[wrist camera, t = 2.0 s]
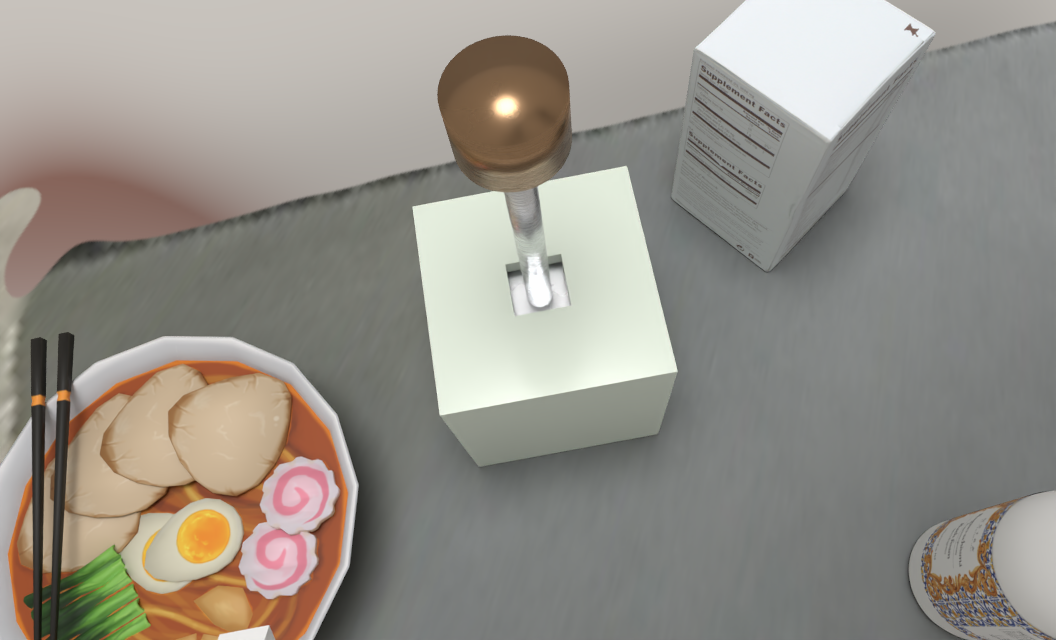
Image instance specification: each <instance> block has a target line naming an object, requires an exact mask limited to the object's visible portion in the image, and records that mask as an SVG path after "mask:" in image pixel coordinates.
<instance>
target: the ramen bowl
mask: <svg viewBox="0 0 1056 640" xmlns="http://www.w3.org/2000/svg"><path fill="white" fill-rule="evenodd" d="M73 349H74V335H73V334H71V333H69V332H67V333H61V334H59V341H58V374H57V394H55V395H54V396H53V397H52V398H50V399H49V400H48V401H47V402H44V401H45V398H46V351H47V340H45V339H43V338H41V337H39V338H35V339H31V397H32V401H33V402H32V406H31V411H32V416H31V418H30V419H29V421H28V422H27V424H26V425H25V427H24V429H23V430H22V432H21V433H20V435H19V436H18V438H17V439H16V441H15V442H14V444H13V446H12V447H11V449H10V450H9V452H8V453H7V455H6V456H5V458H4V459H3V461H2V462H1V464H0V640H218V637H219V635H220V634H224V633H230V632H235V631H240V630H246V629H251V628H256V627H262V626H267V625H269V626H270V628H271V631H272V633H273V635H274V638H275V640H314V638H315V636H316V634H317V632H318V630H319V628H320V625H321V623H322V621H323V619H324V617H325V615H326V613H327V611H328V609H329V607H330V605H331V603H332V601H333V599H334V597H335V595H336V593H337V591H338V589H339V587H340V585H341V583H342V581H343V579H344V577H345V575H346V573H347V570H348V568H349V566H350V557H351V549H352V540H353V531H354V522H355V513H356V505H357V496H358V487H359V484H358V481H357V478H356V474H355V471H354V468H353V465H352V461H351V458H350V455H349V451H348V448H347V445H346V441H345V438H344V435H343V431H342V428H341V425H340V422H339V418H338V415H337V414H336V412H335V411H334V410H333V409H332V408H331V407H330V405H329V404H328V403H327V402H326V401H325V400H324V398H323V397H322V396H321V395H320V394H319V392H318V391H317V390H316V389H315V388H314V387H313V385H312V384H311V383H310V382H309V381H308V380H307V378H306V377H305V376H304V375H303V374H302V373H301V371H300V370H299V369H298V368H297V367H296V366H295V364H294V363H292V362H290V361H287V360H285V359H283V358H280V357H278V356H276V355H273V354H271V353H269V352H266V351H264V350H262V349H259V348H257V347H255V346H252V345H250V344H248V343H245V342H243V341H241V340H238V339H236V338H234V337H193V336H163V337H161V338H158V339H155V340H153V341H150V342H147V343H145V344H142V345H140V346H137V347H134V348H132V349H129V350H126V351H124V352H121V353H119V354H116V355H113V356H111V357H108V358H106V359H103V360H100V361H98V362H95V363H94V364H93V365H92V366H90V367H89V368H88V369H87V370H85V371H84V372H83V373H82V374H80V375H79V376H78V377H77V378H75V379H74V380H73V381H72V367H73Z"/></svg>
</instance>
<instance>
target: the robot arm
mask: <svg viewBox="0 0 1056 640" xmlns="http://www.w3.org/2000/svg"><path fill="white" fill-rule="evenodd" d="M218 640H275V638H274V635H273V633H272V631H271V628H270V626H269V625H267V626H262V627H256V628H251V629H246V630H240V631H235V632H230V633H224V634H220V635H219V637H218Z"/></svg>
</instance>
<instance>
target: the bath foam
mask: <svg viewBox="0 0 1056 640" xmlns="http://www.w3.org/2000/svg"><path fill="white" fill-rule="evenodd" d="M909 579H910V584H911V588H912V591H913V593H914V596H915V598H916V600H917V602H918V604H919V605H920V607H921V608H922V610H923V611H924V612H925V614H926V615H927V616H928V617H929V618H930V619H931V620H932V621H933V622H934V623H936V624H937V625H938V626H940V627H941V628H943V629H944V630H946V631H948V632H949V633H951V634H953V635H955V636H958V637H960V638H963V639H967V640H1056V491H1045V492H1039V493H1035V494H1032V495H1029V496H1025V497H1022V498H1019V499H1015V500H1012V501H1009V502H1005V503H1002V504H999V505H995V506H992V507H989V508H985V509H982V510H979V511H975V512H972V513H969V514H966V515H962V516H959V517H956V518H953V519H950V520H947V521H944V522H941V523H938V524H936V525H934V526H933V527H931V528H930V529H928V530H927V531H926V532H925V533H923V534H922V535H921V537H920V538H919V539H918V541H917V542H916V544H915V546H914V548H913V550H912V553H911V556H910V561H909Z"/></svg>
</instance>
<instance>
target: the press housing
mask: <svg viewBox="0 0 1056 640" xmlns="http://www.w3.org/2000/svg"><path fill="white" fill-rule="evenodd" d="M538 192H539V199H540V207H541V214H542V221H543V228H544V235H545V242H546V249H547V257H548V264H553V263H558V262H562V266H563V270H564V275H565V280H566V285H567V290H568V295H569V300H570V305H571V306H566V307H561V308H555V309H550V310H545V311H539V312H534V313H529V314H523V315H518V316H515V313H514V308H513V302H512V296H511V290H510V285H509V279H508V273H507V272H511V271H516V270H521V268H520V263H519V259H518V254H517V249H516V245H515V240H514V236H513V231H512V227H511V222H510V218H509V213H508V208H507V204H506V199H505V195H504V192H497V191H493V192H487V193H482V194H477V195H472V196H466V197H461V198H456V199H451V200H445V201H440V202H435V203H430V204H424V205H419V206H414V207H413V214H414V222H415V229H416V237H417V245H418V252H419V260H420V267H421V275H422V283H423V290H424V298H425V306H426V313H427V321H428V328H429V336H430V344H431V351H432V359H433V367H434V374H435V382H436V389H437V397H438V405H439V412H440V416H441V418H442V419H443V420H444V422H445V423H446V424H447V426H448V427H449V428H450V430H451V431H452V432H453V433H454V435H455V436H456V437H457V439H458V440H459V441H460V443H461V444H462V445H463V447H464V448H465V449H466V451H467V452H468V453H469V455H470V456H471V457H472V459H473V460H474V461H475V462H476V464H477V465H478V466H479V467H482V466H487V465H493V464H498V463H504V462H509V461H515V460H520V459H525V458H531V457H536V456H542V455H547V454H553V453H558V452H563V451H569V450H574V449H580V448H585V447H591V446H596V445H601V444H607V443H612V442H618V441H623V440H629V439H634V438H639V437H645V436H650V435H656V434H658V433H659V430H660V427H661V423H662V420H663V417H664V414H665V411H666V407H667V404H668V401H669V398H670V394H671V391H672V388H673V385H674V382H675V378H676V375H677V372H678V371H677V367H676V363H675V359H674V355H673V351H672V347H671V343H670V339H669V335H668V331H667V327H666V323H665V319H664V315H663V310H662V306H661V302H660V298H659V294H658V290H657V286H656V282H655V278H654V274H653V270H652V266H651V262H650V258H649V254H648V250H647V246H646V242H645V238H644V234H643V230H642V226H641V222H640V218H639V214H638V209H637V205H636V201H635V197H634V193H633V189H632V185H631V181H630V177H629V173H628V169H627V166H624V167H619V168H614V169H608V170H603V171H598V172H593V173H587V174H582V175H577V176H572V177H566V178H561V179H556V180H551V181H546V182H545V183H543V184H541V185H539V186H538Z"/></svg>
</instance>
